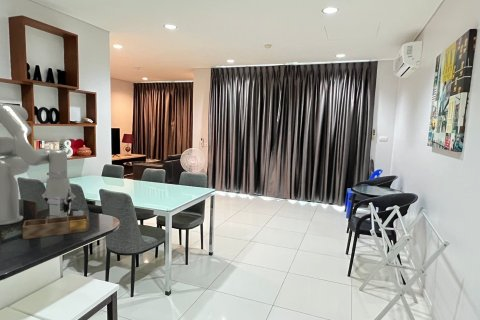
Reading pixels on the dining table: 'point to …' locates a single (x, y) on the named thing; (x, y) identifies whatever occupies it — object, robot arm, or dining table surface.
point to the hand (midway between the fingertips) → (59, 210)
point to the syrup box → (57, 208)
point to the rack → (55, 226)
